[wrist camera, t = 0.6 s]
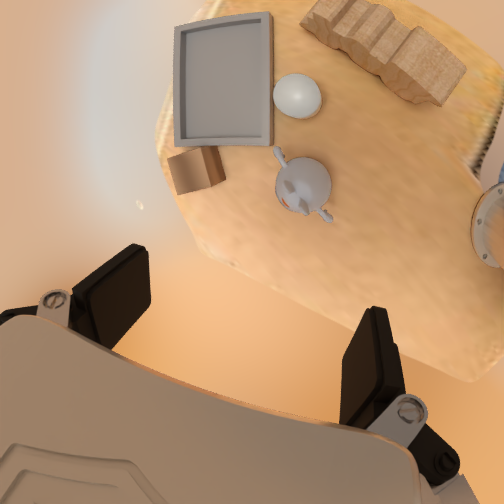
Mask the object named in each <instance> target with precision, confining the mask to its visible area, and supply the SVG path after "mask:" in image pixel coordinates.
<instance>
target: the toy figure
mask: <svg viewBox="0 0 504 504" xmlns="http://www.w3.org/2000/svg"><path fill="white" fill-rule="evenodd" d="M273 152H274V155H275V157H276V158H277V159H278V161H279V162H280V164H281V165H282V168H281V169H280V171H279V173H278V175H277V179H276V187H275V192H276V195H277V198H278V200H279V201H280V203H281V204H282V205H283V206H284V207H285V208H287V209H288V210H290V211H294V212H298V213H303V214H304V215H305V216H307V215H309V214H310V212H313V211H317V212H318V213H319V215H320V216H321V217H322V218H323V219H324V220H325V221H326V222H328V223H332V222H333V217H332V215H330V214H329V213H328V212H327V210H324V211H323V210H322V209H321V208H320V207H322V206H323V205H324V204H325V203H326V201H327V200H328V198H329V196H330V193H331V188H332V183H331V178H330V175H329V173H328V171H327V169H326V168H325V167H324V166H323V165H322V164H321V163H320V162H318V161H317V160H314V159H312V158H308V157H299V158H295V159H292V160H290V161H288V162H287V163H286V162H285V160H284V158H285V155H284V154H283V152H282V151H281V148H280V147H278V146H275V147H274V148H273Z"/></svg>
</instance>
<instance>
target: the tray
mask: <svg viewBox="0 0 504 504" xmlns="http://www.w3.org/2000/svg"><path fill="white" fill-rule="evenodd" d="M273 91H274V53H273V17H272V15H271V14H270V12H256V13H247V14H238V15H231V16H224V17H218V18H213V19H207V20H202V21H197V22H193V23H188V24H184V25H181V26H176V27H175V30H174V59H173V116H174V145H175V147H186V146H216V145H253V146H271V145H273V137H274V99H273Z"/></svg>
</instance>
